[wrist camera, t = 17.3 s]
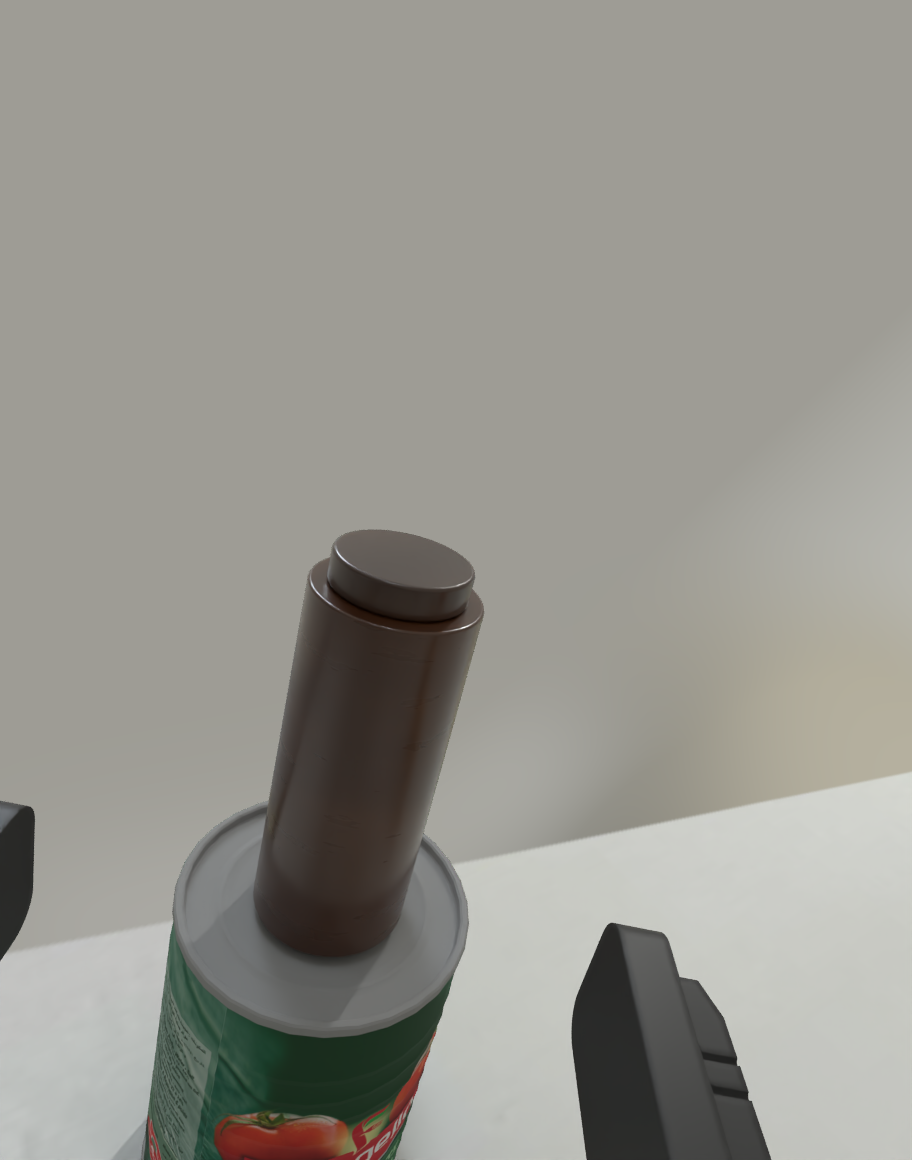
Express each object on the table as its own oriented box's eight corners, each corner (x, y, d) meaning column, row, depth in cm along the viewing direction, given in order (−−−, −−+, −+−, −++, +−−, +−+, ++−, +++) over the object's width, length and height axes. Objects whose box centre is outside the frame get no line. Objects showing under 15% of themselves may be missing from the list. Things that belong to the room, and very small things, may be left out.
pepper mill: (219, 894, 20) (274, 538, 16) (323, 820, 23) (387, 512, 19) (337, 988, 18) (428, 616, 14) (430, 894, 21) (524, 572, 17)
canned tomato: (287, 1371, 20) (364, 1102, 16) (81, 1176, 23) (100, 905, 18) (433, 1115, 27) (514, 880, 22) (260, 989, 29) (304, 760, 25)
